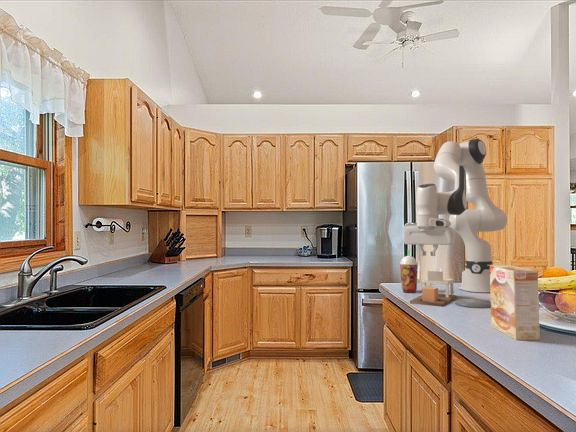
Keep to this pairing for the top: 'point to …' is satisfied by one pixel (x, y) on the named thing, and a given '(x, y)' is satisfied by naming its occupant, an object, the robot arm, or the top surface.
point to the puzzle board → (441, 302)
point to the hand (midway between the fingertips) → (428, 255)
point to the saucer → (473, 303)
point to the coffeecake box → (515, 301)
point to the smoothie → (408, 274)
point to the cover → (439, 281)
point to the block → (430, 294)
